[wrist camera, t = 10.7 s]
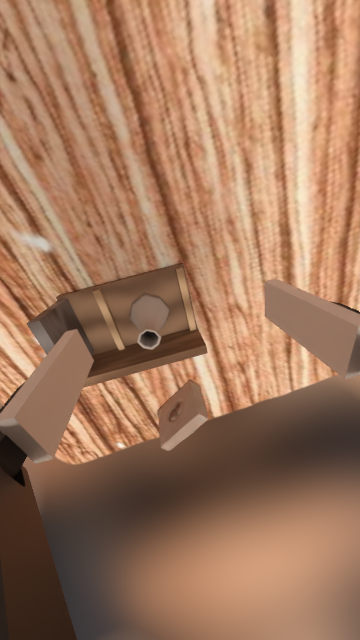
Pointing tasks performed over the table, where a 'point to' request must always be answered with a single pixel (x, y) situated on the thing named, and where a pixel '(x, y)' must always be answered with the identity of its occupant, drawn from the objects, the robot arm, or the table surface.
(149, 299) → the flask
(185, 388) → the fossil
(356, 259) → the table surface
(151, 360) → the brown open box
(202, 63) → the table surface
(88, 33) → the table surface
